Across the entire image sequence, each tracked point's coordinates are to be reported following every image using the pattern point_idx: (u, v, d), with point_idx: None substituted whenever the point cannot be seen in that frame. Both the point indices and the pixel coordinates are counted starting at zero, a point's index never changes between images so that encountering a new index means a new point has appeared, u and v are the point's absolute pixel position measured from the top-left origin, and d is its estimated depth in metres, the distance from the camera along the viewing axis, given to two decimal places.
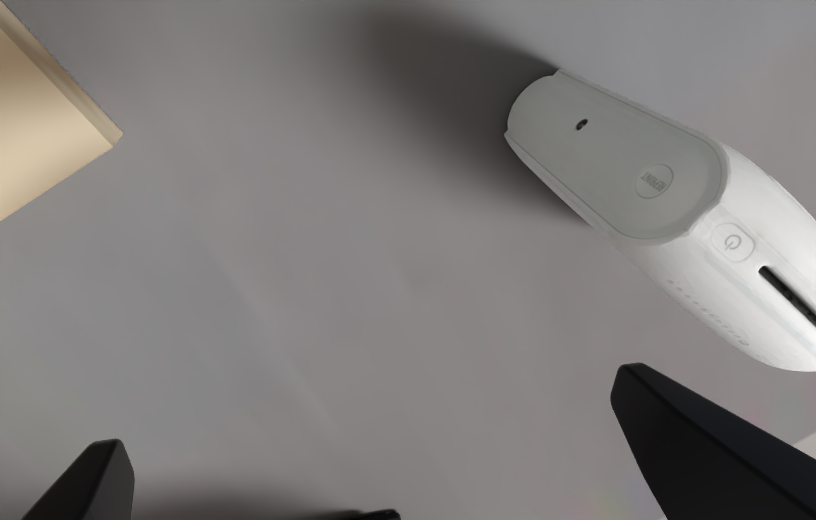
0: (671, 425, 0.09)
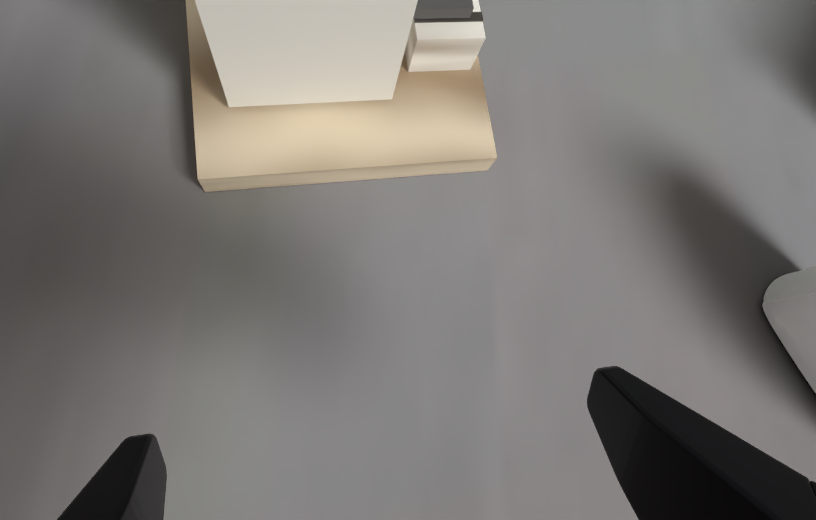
0: (644, 430, 0.09)
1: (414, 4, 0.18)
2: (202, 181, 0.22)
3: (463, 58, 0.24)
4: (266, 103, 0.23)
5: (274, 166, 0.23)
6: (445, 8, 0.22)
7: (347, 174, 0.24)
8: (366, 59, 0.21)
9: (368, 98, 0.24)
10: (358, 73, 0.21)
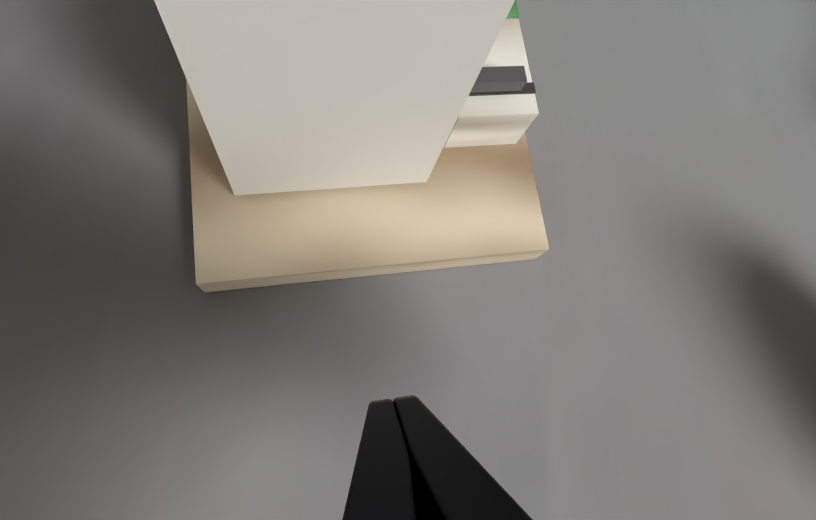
0: (412, 470, 0.08)
1: (467, 91, 0.14)
2: (201, 285, 0.19)
3: (509, 133, 0.21)
4: (279, 190, 0.19)
5: (287, 265, 0.19)
6: (494, 82, 0.18)
7: (373, 270, 0.20)
8: (401, 146, 0.17)
9: (399, 182, 0.20)
10: (390, 159, 0.18)
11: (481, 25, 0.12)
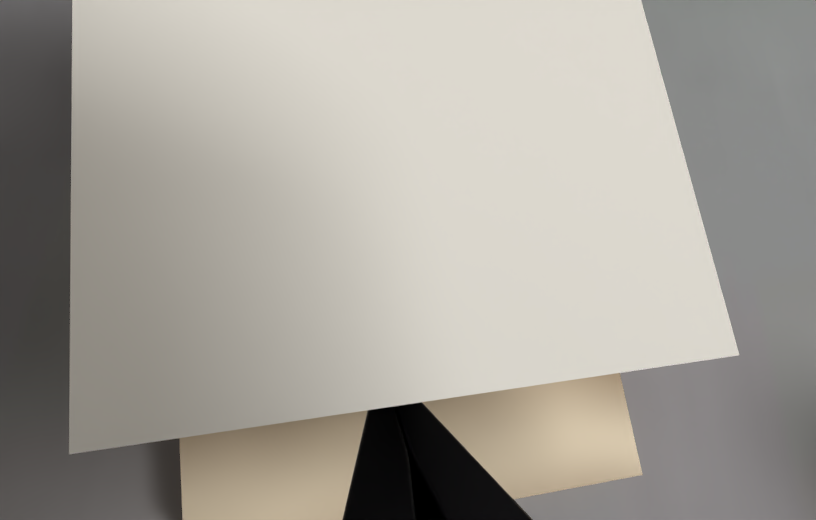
0: (412, 470, 0.08)
1: None
2: None
3: None
4: None
5: None
6: None
7: None
8: None
9: None
10: None
11: None
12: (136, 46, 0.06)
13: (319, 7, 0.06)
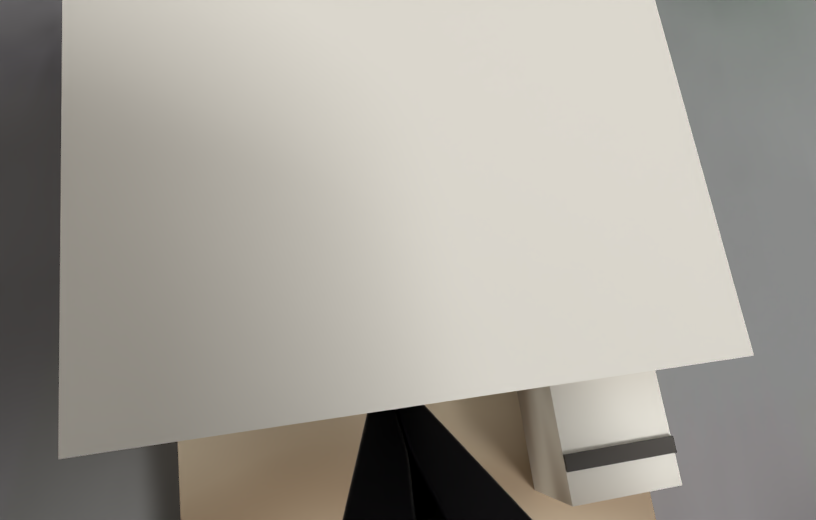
0: (412, 470, 0.08)
1: None
2: None
3: None
4: None
5: None
6: None
7: None
8: None
9: None
10: None
11: None
12: (129, 34, 0.06)
13: None
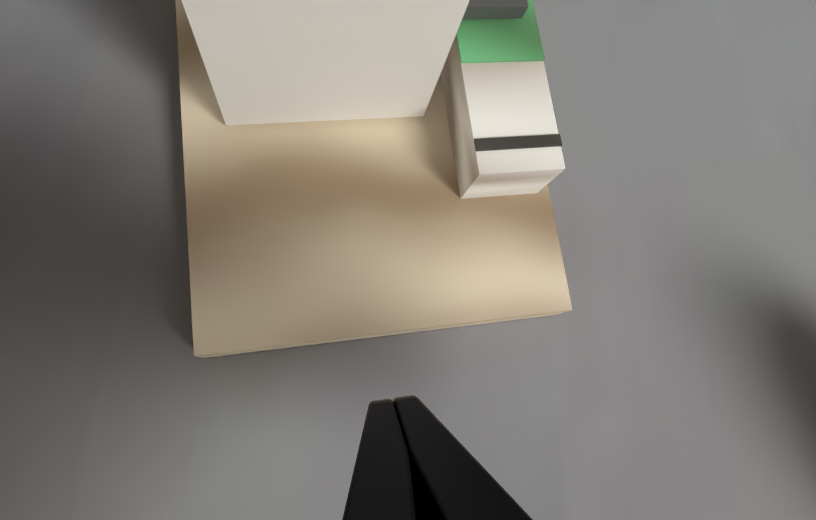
0: (412, 470, 0.08)
1: (466, 1, 0.14)
2: (200, 355, 0.17)
3: (531, 185, 0.19)
4: (271, 121, 0.19)
5: (293, 333, 0.18)
6: (494, 6, 0.18)
7: (384, 334, 0.19)
8: (397, 69, 0.17)
9: (395, 115, 0.19)
10: (387, 86, 0.17)
11: None
12: None
13: None
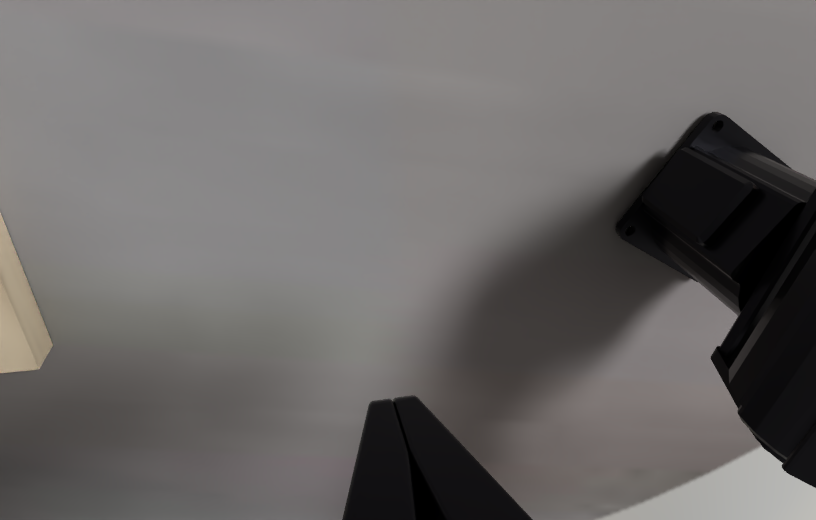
0: (412, 470, 0.08)
1: None
2: (40, 362, 0.21)
3: None
4: None
5: (1, 306, 0.20)
6: None
7: None
8: None
9: None
10: None
11: None
12: None
13: None
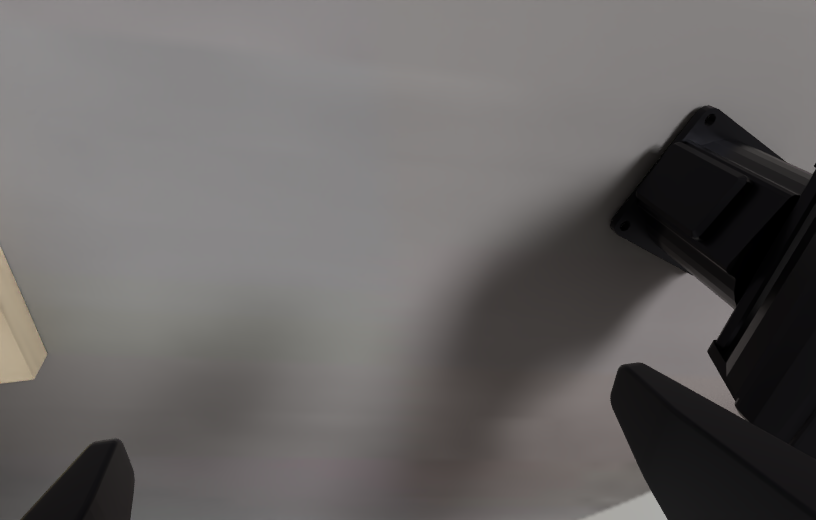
0: (671, 425, 0.09)
1: None
2: (35, 372, 0.21)
3: None
4: None
5: None
6: None
7: None
8: None
9: None
10: None
11: None
12: None
13: None
